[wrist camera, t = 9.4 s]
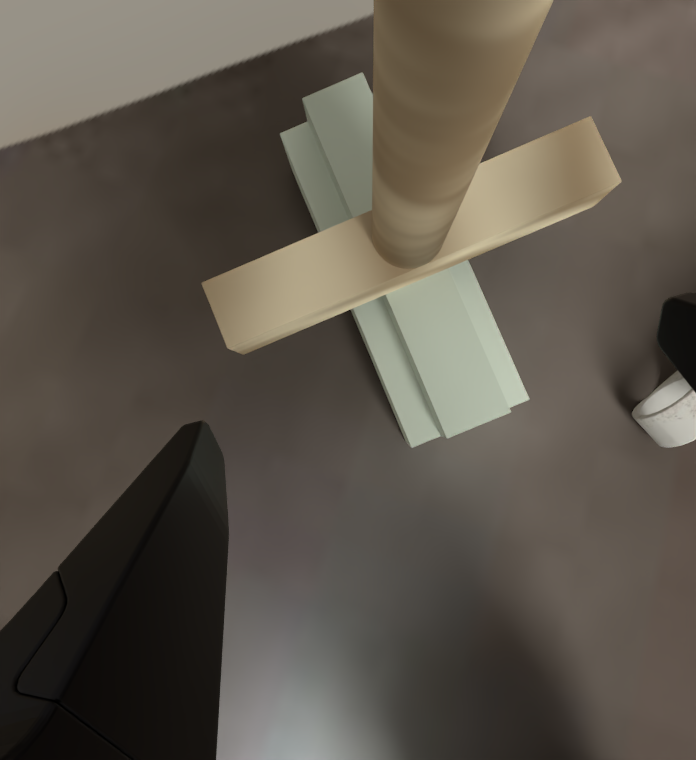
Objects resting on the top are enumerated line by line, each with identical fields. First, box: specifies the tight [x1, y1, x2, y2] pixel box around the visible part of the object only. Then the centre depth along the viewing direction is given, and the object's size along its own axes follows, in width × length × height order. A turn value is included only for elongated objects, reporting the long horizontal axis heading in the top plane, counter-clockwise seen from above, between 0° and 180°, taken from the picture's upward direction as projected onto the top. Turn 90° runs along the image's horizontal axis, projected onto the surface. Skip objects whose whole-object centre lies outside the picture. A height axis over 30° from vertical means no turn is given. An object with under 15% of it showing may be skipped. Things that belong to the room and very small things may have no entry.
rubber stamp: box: [202, 0, 621, 355], centre depth 12 cm, size 14×2×12 cm, turn 113°
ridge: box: [280, 72, 530, 448], centre depth 20 cm, size 14×5×4 cm, turn 23°
